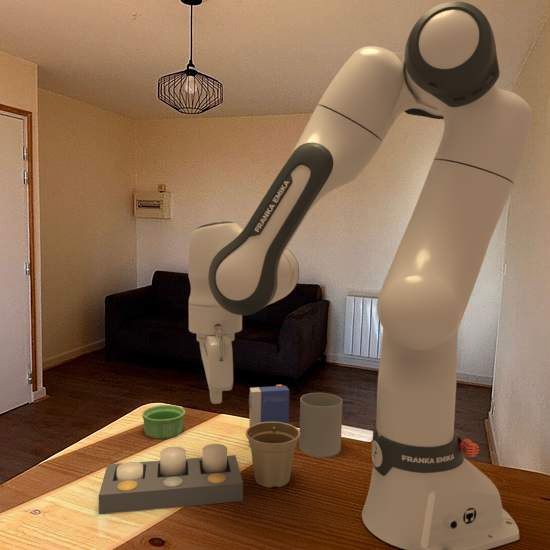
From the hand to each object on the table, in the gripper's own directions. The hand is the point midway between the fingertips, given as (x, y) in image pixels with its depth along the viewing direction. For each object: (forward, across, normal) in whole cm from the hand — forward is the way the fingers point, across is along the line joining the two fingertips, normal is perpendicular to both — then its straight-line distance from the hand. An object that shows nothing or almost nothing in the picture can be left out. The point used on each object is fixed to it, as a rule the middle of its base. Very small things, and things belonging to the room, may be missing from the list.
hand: (215, 400), depth 83 cm
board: (+14, -1, +7) cm, 16 cm away
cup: (+15, +11, -22) cm, 29 cm away
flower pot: (+15, 0, -10) cm, 18 cm away
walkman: (+15, +14, -12) cm, 23 cm away
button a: (+12, 0, 0) cm, 12 cm away
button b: (+12, 0, +7) cm, 14 cm away
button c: (+14, 0, +14) cm, 20 cm away
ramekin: (+15, +24, +9) cm, 29 cm away
